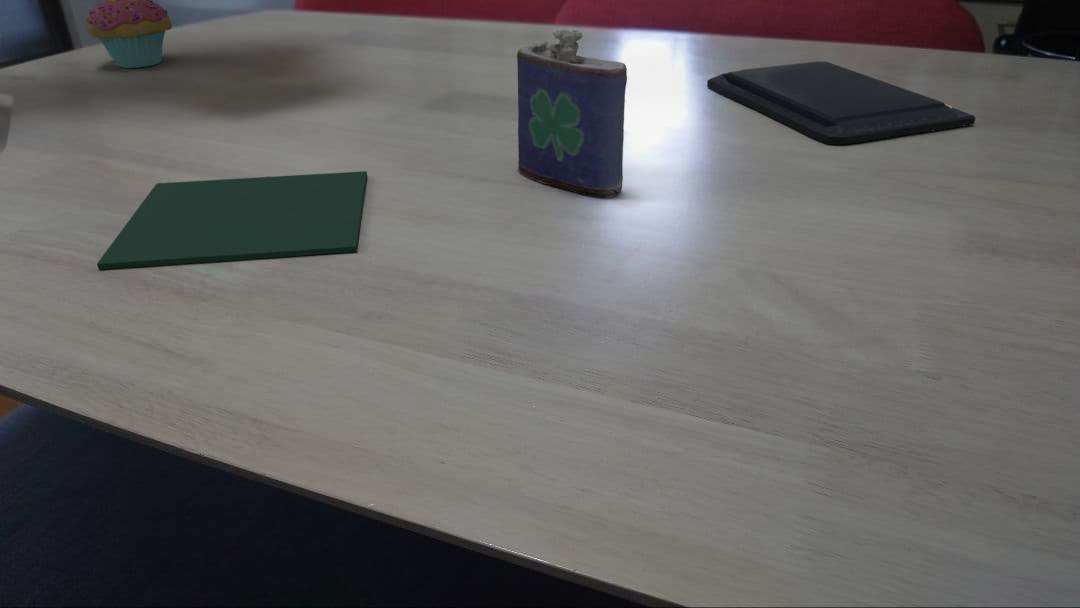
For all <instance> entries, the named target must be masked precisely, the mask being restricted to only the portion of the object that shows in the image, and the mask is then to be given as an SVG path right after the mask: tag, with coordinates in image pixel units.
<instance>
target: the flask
mask: <svg viewBox="0 0 1080 608" xmlns="http://www.w3.org/2000/svg"><path fill="white" fill-rule="evenodd" d="M552 36H554V38H555V39H557V40H559V42H558V43H554V44H552V43H551V44H550V43H549V42H548V41H542V42H541V43H537V44H534V43H533V44H532V45H531V46H521V47H520V48H519V50H517V53H516V54H517V55H516V58H517V59H516V62H517V63H516V64H517V110H518V117H517V139H518V140H517V141H518V142H517V143H518V167H517V171H518V172H519V173H518V174H521V175H522V176H524V177H526V178H530V179H531V180H533V181H537V182H538V183H541V184H545V185H548V186H556V187H557V188H560V189H563V190H566V191H570V192H574V193H579V194H582V195H584V196H588V197H599V198H601V199H603V198H605V199H609V198H615V197H616V196H617V195H618V194H620V193H622V190H623V180H624V175H623V174H624V173H623V164H624V163H623V162H624V139H625V132H624V130H625V128H624V126H625V105H626V88H627V83H628V68H627V66H626V63H624V62H621V61H615V60H613V61H612V60H605V59H599V58H596V57H595V58H593V57H587V56H583V55H577V53H578V50H579V47H580V46H579V43H578V41H579V40H582V37H583V33H582V31H579V30H578V29H574V30H572V31H570V30H567V29H555V30H553V31H552ZM616 192H617V193H616Z"/></svg>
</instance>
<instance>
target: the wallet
mask: <svg viewBox="0 0 1080 608" xmlns="http://www.w3.org/2000/svg"><path fill="white" fill-rule="evenodd" d="M706 87H707V88H709V89H710V90H713V91H714V92H716V93H718V94H720V95H721V96H724V97H727V98H729V99H730V100H733V101H735V102H738V103H740V104H742V105H744V106H746V107H748V108H750V109H752V110H755V111H757V112H759V113H761V114H763V115H765V116H766V117H769V118H771V119H773V120H775V121H777V122H779V123H782V124H783V125H785V126H787V127H790V128H791V129H794V130H795V131H797V132H799V133H802V134H803V135H805V136H807V137H810V138H811V139H814V140H816V141H819V142H820V143H823V144H826V145H837V146H838V145H840V146H844V145H850V144H851V145H852V144H859V143H865V141H866V142H872V141H878V139H879V140H883V139H884V138H885V139H891V138H897V137H902V136H901V135H903V136H908V135H907V134H910V135H914V134H913V133H917V134H920V133H919V132H924V133H927V132H926V131H931V132H933V131H932V130H937V131H940V130H939V129H944V128H950V129H952V128H951V127H956V128H958V127H957V126H962V127H964V126H963V125H969V126H971V125H970V124H973V125H975V121H976V116H975V115H973V114H971V113H968V112H965V111H963V110H960V109H957V108H954V107H953V106H952V105H950V104H947V103H945V102H944V101H940V100H937V99H935V98H932V97H930V96H926V95H923V94H921V93H918V92H915V91H912V90H910V89H907V88H903V87H900V86H898V85H895V84H892V83H889V82H886V81H883V80H881V79H877V78H874V77H872V76H869V75H866V74H864V73H861V72H857V71H855V70H852V69H849V68H846V67H843V66H840V65H838V64H834V63H832V62H830V61H829V62H828V61H826V60H825V61H822V60H821V61H809V62H801V63H800V62H799V63H791V64H783V65H773V66H763V67H754V68H746V69H741V70H734V71H728V72H725V73H721V74H718V75H716V76H714V77H712V78H709V79H707V83H706ZM944 130H945V129H944ZM896 136H897V137H896ZM890 137H891V138H890Z"/></svg>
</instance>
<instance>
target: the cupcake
mask: <svg viewBox="0 0 1080 608" xmlns="http://www.w3.org/2000/svg"><path fill="white" fill-rule="evenodd" d="M85 25H86V28H87V31H88V32H87V33H88V34H89V35H91V36H92V37H94V38H97V39H98V40H99V42H101V44H102V45H103V46H104V48H105V49H106V51H107V52H108V54H109V56H110V58H111V59H112V60H113V62H114V64H115V66H116V67H118V68H122V69H138V68H139V69H140V68H147V67H152V66H156V65H158V64H160V63H161V62H162V59H163V46H164V45H163V44H164V39H165V34H166V31H170V30H171V29H172V27H173V25H172V21H171V19H170V17H169V15H168V11H167V9H164V7H163V6H161V5H159V4H158V3H156V2H154V1H153V0H105V1H102V2H99V3H97V4H96V5H95V6H93V7H92V8H91V9H90V10H89V13H88V15H87V16H86V17H85Z"/></svg>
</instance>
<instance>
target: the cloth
mask: <svg viewBox="0 0 1080 608" xmlns="http://www.w3.org/2000/svg"><path fill="white" fill-rule="evenodd" d="M367 179H368V171H366V170H364V171H363V170H362V171H346V172H329V173H328V172H327V173H312V174H311V173H310V174H295V175H278V176H260V177H259V176H257V177H241V178H225V179H224V178H223V179H209V180H208V179H207V180H193V181H192V180H191V181H173V182H158V183H156V184H155V185H154V186H153V188H152V189H151V190H150V192H149V193H148V194H147V195H146V197H145V198H144V200H143V201H142V202H141V204H140V205H139V206H138V208H137V209H136V211H134V213H133V214H132V216H131V217H130V219H129V220H128V221H127V223H126V224H125V225H124V226H123V228H122V229H121V231H120V232H119V233H118V235H117V236H116V237H115V239H114V240H113V241H112V243H110V246H109V247H108V248H107V250H106V251H105V252H104V253H103V255H102V256H101V258H100V259H99V260H98V262H97V263H96V266H97V268H98V270H110V269H111V270H112V269H125V268H141V267H142V268H143V267H156V266H170V265H185V264H186V265H187V264H199V263H200V264H201V263H213V262H214V263H215V262H229V261H230V262H231V261H242V260H243V261H245V260H258V259H271V258H272V259H274V258H284V257H285V258H286V257H287V258H288V257H302V256H303V257H304V256H316V255H317V256H318V255H331V254H345V253H346V254H347V253H357V252H358V245H359V236H360V232H361V224H362V217H363V209H364V202H365V193H366V187H367Z"/></svg>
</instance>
